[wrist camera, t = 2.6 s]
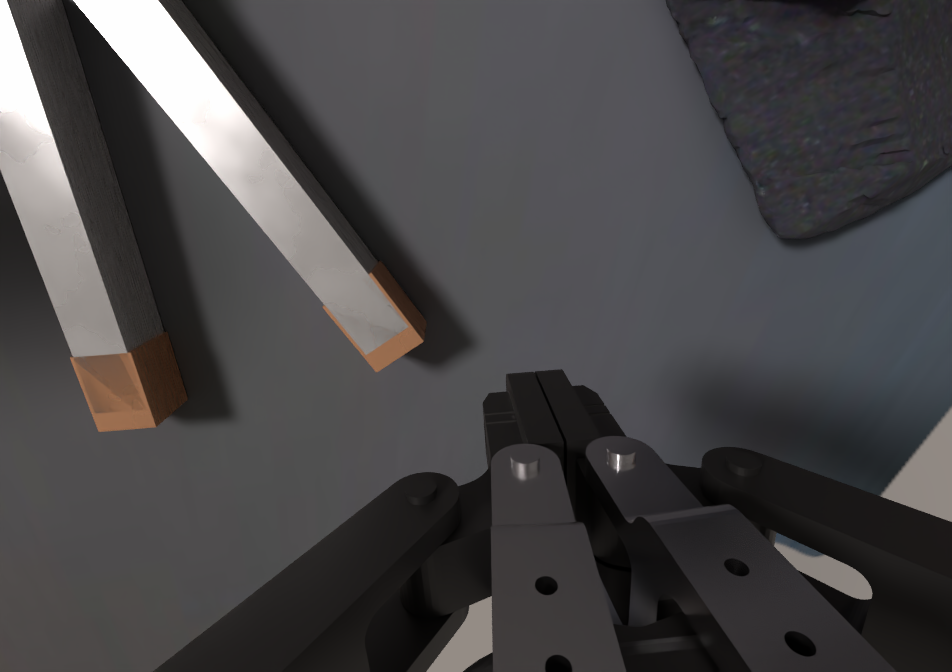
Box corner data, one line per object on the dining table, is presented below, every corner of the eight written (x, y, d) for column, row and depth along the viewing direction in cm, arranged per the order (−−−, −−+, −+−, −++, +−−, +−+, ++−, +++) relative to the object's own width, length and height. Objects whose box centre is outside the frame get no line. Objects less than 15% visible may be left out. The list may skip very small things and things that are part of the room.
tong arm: (105, 2, 19) (47, -26, 17) (154, -42, 19) (103, -78, 16) (384, 349, 25) (376, 372, 22) (426, 322, 25) (423, 341, 22)
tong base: (-42, -106, 18) (-185, -186, 14) (121, -115, 18) (26, -197, 14) (136, 403, 26) (77, 447, 22) (251, 393, 26) (213, 436, 22)
